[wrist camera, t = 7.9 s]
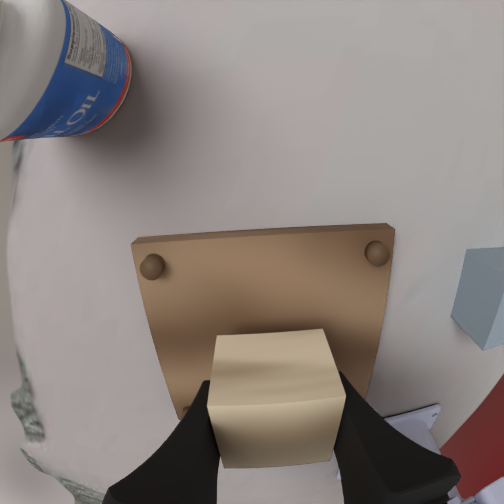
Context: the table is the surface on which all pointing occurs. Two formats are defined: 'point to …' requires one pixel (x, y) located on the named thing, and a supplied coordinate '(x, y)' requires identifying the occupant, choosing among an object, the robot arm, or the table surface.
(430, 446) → the robot arm
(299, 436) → the birch block
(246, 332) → the base plate
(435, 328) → the table surface
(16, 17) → the pill bottle
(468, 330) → the slate block
